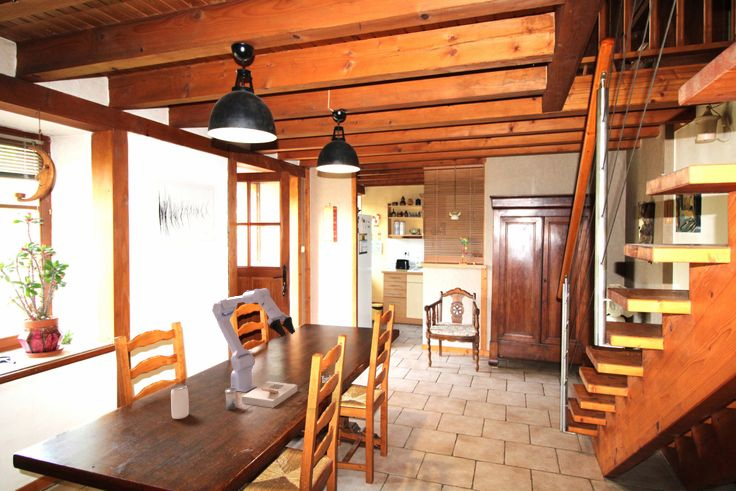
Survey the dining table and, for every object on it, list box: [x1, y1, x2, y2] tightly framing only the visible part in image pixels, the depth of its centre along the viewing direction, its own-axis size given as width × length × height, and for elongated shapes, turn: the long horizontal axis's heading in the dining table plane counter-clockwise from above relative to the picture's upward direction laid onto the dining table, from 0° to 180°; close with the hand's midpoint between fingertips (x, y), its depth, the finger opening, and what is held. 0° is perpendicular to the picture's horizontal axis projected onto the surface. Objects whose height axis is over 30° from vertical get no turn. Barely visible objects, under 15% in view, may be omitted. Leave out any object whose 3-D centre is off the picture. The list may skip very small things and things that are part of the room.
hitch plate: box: [241, 380, 298, 409], centre depth 196 cm, size 16×20×3 cm
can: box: [170, 384, 190, 420], centre depth 177 cm, size 6×6×12 cm
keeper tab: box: [261, 388, 278, 393], centre depth 190 cm, size 4×8×1 cm, turn 159°
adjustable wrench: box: [321, 375, 332, 383], centre depth 208 cm, size 25×6×2 cm, turn 165°
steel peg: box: [224, 387, 237, 411], centre depth 184 cm, size 5×5×8 cm
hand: (288, 334), depth 192 cm, fingers open, 7 cm apart
